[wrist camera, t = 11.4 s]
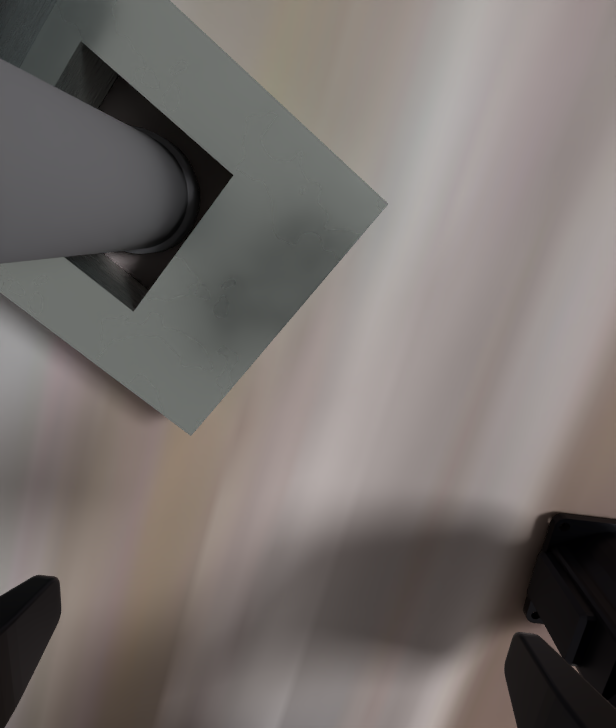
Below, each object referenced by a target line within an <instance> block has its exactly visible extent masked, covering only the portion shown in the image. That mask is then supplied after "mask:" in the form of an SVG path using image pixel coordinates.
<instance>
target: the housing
mask: <svg viewBox="0 0 616 728" xmlns="http://www.w3.org/2000/svg"><path fill="white" fill-rule="evenodd" d="M0 58H1V59H2V60H4V61H6V62H8V63H10V64H12V65H14V66H16V67H18V68H20V69H22V70H24V71H25V72H27V73H29V74H31V75H33V76H35V77H37V78H39V79H41V80H43V81H45V82H46V83H48V84H50V85H52V86H54V87H56V88H58V89H60V90H62V91H64V92H66V93H68V94H69V95H71V96H73V97H75V98H77V99H79V100H81V101H83V102H85V103H87V104H89V105H90V106H92V107H94V108H96V109H98V107H99V106H100V104H101V103H102V101H103V99H104V98H105V96H106V94H107V93H108V91H109V90H110V88H111V86H112V85H113V83H114V81H115V80H116V78H117V77H118V75H120V76H121V77H122V78H124V79H125V80H126V81H127V82H128V83H129V84H130V85H132V86H133V87H134V88H135V89H136V90H137V91H138V92H139V93H141V94H142V95H143V96H144V97H145V98H146V99H147V100H149V101H150V102H151V103H152V104H153V105H154V106H155V107H157V108H158V109H159V110H160V111H161V112H162V113H163V114H164V115H166V116H167V117H168V118H169V119H170V120H171V121H172V122H174V123H175V124H176V125H177V126H178V127H179V128H180V129H182V130H183V131H184V132H185V133H186V134H187V135H188V136H189V137H191V138H192V139H193V140H194V141H195V142H196V143H197V144H199V145H200V146H201V147H202V148H203V149H204V150H205V151H207V152H208V153H209V154H210V155H211V156H212V157H213V158H214V159H216V160H217V161H218V162H219V163H220V164H221V165H222V166H224V167H225V168H226V169H227V170H228V171H229V172H230V173H232V174H233V177H232V178H231V179H230V181H229V182H228V184H227V185H226V186H225V188H224V189H223V190H222V192H221V193H220V194H219V196H218V197H217V199H216V200H215V201H214V203H213V204H212V205H211V207H210V208H209V209H208V211H207V212H206V214H205V215H204V216H203V218H202V219H201V220H200V222H199V223H198V224H197V226H196V227H195V229H194V230H193V231H192V233H191V234H190V235H189V237H188V238H187V239H186V241H185V242H184V244H183V245H182V246H181V248H180V249H179V250H178V252H177V253H176V254H175V256H174V257H173V259H172V260H171V261H170V263H169V264H168V265H167V267H166V268H165V269H164V271H163V272H162V274H161V275H160V276H159V278H158V279H157V280H156V282H155V283H154V285H153V286H152V287H151V289H150V290H148V289H146V288H145V287H144V286H143V285H141V284H140V283H139V282H138V281H136V280H135V279H134V278H133V277H131V276H130V275H129V274H128V273H126V272H125V271H124V270H123V269H121V268H120V267H119V266H118V265H116V264H115V263H114V262H113V261H111V260H110V259H109V258H108V257H106V256H105V255H104V254H103V253H97V254H88V255H78V256H69V257H59V258H50V259H40V260H31V261H21V262H12V263H2V264H0V293H1V294H3V295H4V296H5V297H7V298H8V299H9V300H11V301H12V302H13V303H15V304H16V305H17V306H19V307H20V308H21V309H23V310H24V311H25V312H26V313H28V314H29V315H30V316H32V317H33V318H34V319H36V320H37V321H38V322H40V323H41V324H42V325H44V326H45V327H46V328H48V329H49V330H50V331H52V332H53V333H54V334H56V335H57V336H58V337H60V338H61V339H62V340H64V341H65V342H66V343H68V344H69V345H70V346H72V347H73V348H74V349H76V350H77V351H78V352H80V353H81V354H82V355H84V356H85V357H86V358H88V359H89V360H90V361H92V362H93V363H94V364H96V365H97V366H98V367H100V368H101V369H102V370H104V371H105V372H106V373H108V374H109V375H110V376H112V377H113V378H114V379H116V380H117V381H118V382H120V383H121V384H122V385H124V386H125V387H126V388H128V389H129V390H130V391H132V392H133V393H134V394H136V395H137V396H138V397H140V398H141V399H142V400H144V401H145V402H146V403H148V404H149V405H150V406H152V407H153V408H154V409H156V410H157V411H158V412H160V413H161V414H162V415H164V416H165V417H166V418H168V419H169V420H170V421H172V422H173V423H174V424H176V425H177V426H178V427H180V428H181V429H182V430H184V431H185V432H186V433H188V434H189V435H190V436H191V435H192V434H193V433H194V432H195V431H196V429H197V428H198V427H199V426H200V425H201V424H202V422H203V421H204V420H205V419H206V418H207V417H208V415H209V414H210V413H211V412H212V411H213V409H214V408H215V407H216V406H217V405H218V404H219V402H220V401H221V400H222V399H223V398H224V397H225V395H226V394H227V393H228V392H229V391H230V390H231V388H232V387H233V386H234V385H235V384H236V382H237V381H238V380H239V379H240V378H241V377H242V375H243V374H244V373H245V372H246V371H247V370H248V368H249V367H250V366H251V365H252V364H253V362H254V361H255V360H256V359H257V358H258V357H259V355H260V354H261V353H262V352H263V351H264V350H265V348H266V347H267V346H268V345H269V344H270V342H271V341H272V340H273V339H274V338H275V337H276V335H277V334H278V333H279V332H280V331H281V330H282V328H283V327H284V326H285V325H286V324H287V322H288V321H289V320H290V319H291V318H292V317H293V315H294V314H295V313H296V312H297V311H298V310H299V308H300V307H301V306H302V305H303V304H304V303H305V301H306V300H307V299H308V298H309V297H310V295H311V294H312V293H313V292H314V291H315V290H316V288H317V287H318V286H319V285H320V284H321V283H322V281H323V280H324V279H325V278H326V277H327V275H328V274H329V273H330V272H331V271H332V270H333V268H334V267H335V266H336V265H337V264H338V263H339V261H340V260H341V259H342V258H343V257H344V255H345V254H346V253H347V252H348V251H349V250H350V248H351V247H352V246H353V245H354V244H355V243H356V241H357V240H358V239H359V238H360V237H361V236H362V234H363V233H364V232H365V231H366V230H367V228H368V227H369V226H370V225H371V224H372V223H373V221H374V220H375V219H376V218H377V217H378V216H379V214H380V213H381V212H382V211H383V210H384V208H385V207H386V206H387V205H388V203H387V202H386V201H385V200H384V199H382V198H381V197H380V196H379V195H378V194H377V193H376V192H375V191H374V190H373V189H372V188H371V187H370V186H369V185H367V184H366V183H365V182H364V181H363V180H362V179H361V178H360V177H359V176H358V175H357V174H356V173H355V172H353V171H352V170H351V169H350V168H349V167H348V166H347V165H346V164H345V163H344V162H343V161H342V160H341V159H339V158H338V157H337V156H336V155H335V154H334V153H333V152H332V151H331V150H330V149H329V148H328V147H327V146H326V145H324V144H323V143H322V142H321V141H320V140H319V139H318V138H317V137H316V136H315V135H314V134H313V133H312V132H310V131H309V130H308V129H307V128H306V127H305V126H304V125H303V124H302V123H301V122H300V121H299V120H298V119H296V118H295V117H294V116H293V115H292V114H291V113H290V112H289V111H288V110H287V109H286V108H285V107H284V106H283V105H281V104H280V103H279V102H278V101H277V100H276V99H275V98H274V97H273V96H272V95H271V94H270V93H269V92H267V91H266V90H265V89H264V88H263V87H262V86H261V85H260V84H259V83H258V82H257V81H256V80H255V79H253V78H252V77H251V76H250V75H249V74H248V73H247V72H246V71H245V70H244V69H243V68H242V67H241V66H240V65H238V64H237V63H236V62H235V61H234V60H233V59H232V58H231V57H230V56H229V55H228V54H227V53H226V52H224V51H223V50H222V49H221V48H220V47H219V46H218V45H217V44H216V43H215V42H214V41H213V40H212V39H211V38H209V37H208V36H207V35H206V34H205V33H204V32H203V31H202V30H201V29H200V28H199V27H198V26H197V25H195V24H194V23H193V22H192V21H191V20H190V19H189V18H188V17H187V16H186V15H185V14H184V13H183V12H181V11H180V10H179V9H178V8H177V7H176V6H175V5H174V4H173V3H172V2H171V1H170V0H0Z"/></svg>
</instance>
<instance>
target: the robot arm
mask: <svg viewBox="0 0 616 728" xmlns="http://www.w3.org/2000/svg"><path fill="white" fill-rule="evenodd" d="M562 523H565V525H563V526H560V525H561V524H562ZM527 594H528V595H527V598H526V602H525V605H524V608H523V611H524V614H525V615H526V617H527V619H528V620H529V621H530V622H533V623H539V624H544V625H545V627H546V629H547V630H548V632H549V634H550V636H551V638H552V639H553V641H554V643H555V645H556V647H557V649H558V650H559V652H560V654H561V656H562V657H561V656H560V655H559V654H558V653H557V652H556V651H555V650H554V649H553V648H552V647H551V646H550V645H548V644H547V643H546V642H545V641H544V640H543V639H542V638H541V637H540V636H538V635H536V634H531V633H523V632H517V633H515V634H514V636H513V638H512V641H511V644H510V648H509V651H508V654H507V657H506V661H505V667H504V671H505V678H506V682H507V686H508V691H509V695H510V699H511V703H512V707H513V711H514V716H515V720H516V724H517V728H616V520H613V519H605V518H596V517H588V516H580V515H571V514H558V515H555V516H554V517H553V518H552V520H551V522H550V525H549V528H548V531H547V534H546V538H545V541H544V544H543V547H542V550H541V552H540V554H539V555H538V558H537V561H536V564H535V567H534V571H533V574H532V577H531V580H530V584H529V587H528V590H527ZM533 612H535V613H533ZM60 615H61V595H60V583H59V580H58V578H57V577H54V576H45V575H36V576H33V577H31V578H30V579H28V580H26V581H25V582H23V583H21V584H20V585H18V586H16V587H15V588H13V589H11V590H10V591H8V592H6V593H5V594H3V595H1V596H0V728H5V726H6V724H7V722H8V721H9V719H10V717H11V716H12V714H13V712H14V710H15V709H16V707H17V705H18V703H19V701H20V699H21V697H22V695H23V693H24V691H25V689H26V687H27V685H28V683H29V681H30V679H31V677H32V675H33V673H34V671H35V669H36V667H37V665H38V663H39V661H40V659H41V657H42V655H43V653H44V651H45V649H46V646H47V644H48V642H49V640H50V638H51V636H52V634H53V632H54V630H55V628H56V626H57V624H58V622H59V619H60ZM572 666H575V667H576V668H577V670H578V672H579V673H578V672H577V671H576V670H575V669H574V668H573V667H572Z"/></svg>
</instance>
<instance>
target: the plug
mask: <svg viewBox="0 0 616 728" xmlns="http://www.w3.org/2000/svg"><path fill="white" fill-rule="evenodd" d="M199 203H200V192H199V185H198V181H197V178H196V175H195V172H194V170H193V168H192V166H191V164H190V162H189V161H188V159H187V158H186V157H185V155H184V154H183V153H182V152H181V151H180V150H179V149H178V148H177V147H176V146H175V145H174V144H172V143H171V142H169V141H168V140H166V139H165V138H163V137H161V136H159V135H158V134H156V133H154V132H151V131H149V130H146V129H143V128H140V127H134V126H129V125H127V124H125V123H123V122H121V121H119V120H117V119H115V118H113V117H112V116H110V115H108V114H106V113H104V112H102V111H100V110H98V109H96V108H94V107H92V106H90V105H89V104H87V103H85V102H83V101H81V100H79V99H77V98H75V97H73V96H71V95H69V94H68V93H66V92H64V91H62V90H60V89H58V88H56V87H54V86H52V85H50V84H48V83H46V82H45V81H43V80H41V79H39V78H37V77H35V76H33V75H31V74H29V73H27V72H25V71H24V70H22V69H20V68H18V67H16V66H14V65H12V64H10V63H8V62H6V61H4V60H2V59H1V58H0V264H2V263H12V262H21V261H31V260H40V259H50V258H59V257H69V256H78V255H88V254H97V253H107V252H116V251H125V252H129V253H136V254H144V253H153V252H159V251H163V250H166V249H169V248H171V247H173V246H175V245H176V244H178V243H179V242H180V241H182V240H183V239H184V238H185V237H186V236H187V235H188V233H189V232H190V230H191V229H192V227H193V225H194V223H195V221H196V218H197V215H198V211H199Z"/></svg>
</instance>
